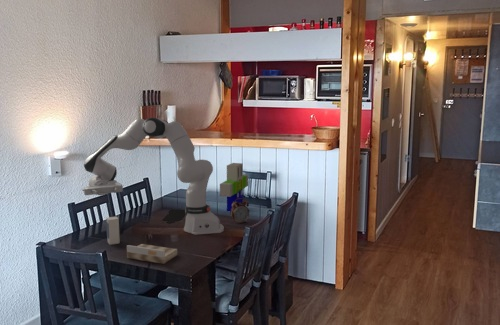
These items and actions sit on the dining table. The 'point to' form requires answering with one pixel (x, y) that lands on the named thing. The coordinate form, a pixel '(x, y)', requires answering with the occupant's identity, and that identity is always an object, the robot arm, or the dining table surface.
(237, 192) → the toy
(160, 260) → the beige flat block
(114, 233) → the carton
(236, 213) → the alarm clock
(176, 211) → the toy
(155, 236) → the dining table surface
